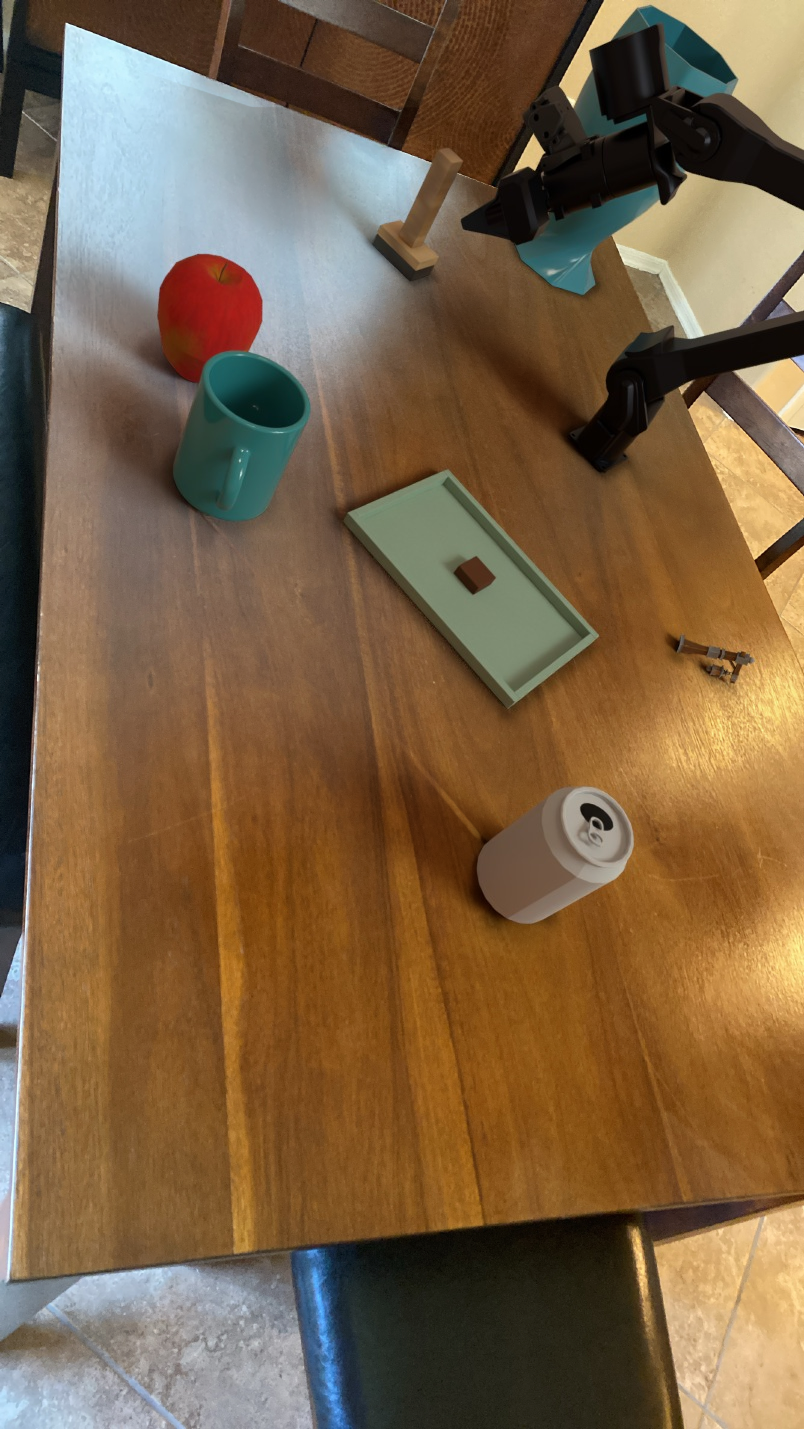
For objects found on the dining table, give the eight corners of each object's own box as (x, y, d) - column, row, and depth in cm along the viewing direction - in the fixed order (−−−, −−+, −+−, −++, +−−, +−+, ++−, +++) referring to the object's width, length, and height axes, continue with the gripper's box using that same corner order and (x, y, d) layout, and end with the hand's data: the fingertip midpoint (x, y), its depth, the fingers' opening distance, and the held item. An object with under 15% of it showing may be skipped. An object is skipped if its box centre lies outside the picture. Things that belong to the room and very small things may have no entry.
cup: (155, 529, 73) (187, 430, 64) (180, 434, 79) (211, 333, 71) (259, 563, 76) (302, 473, 67) (274, 469, 82) (315, 376, 74)
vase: (522, 281, 122) (660, 54, 100) (491, 207, 130) (613, -21, 107) (615, 312, 131) (763, 108, 108) (581, 239, 138) (712, 35, 115)
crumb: (470, 562, 87) (476, 555, 86) (490, 584, 87) (496, 577, 86) (453, 572, 85) (458, 565, 84) (473, 595, 85) (479, 588, 84)
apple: (229, 345, 88) (265, 238, 79) (248, 410, 85) (287, 306, 76) (136, 329, 84) (163, 213, 74) (152, 397, 80) (182, 284, 71)
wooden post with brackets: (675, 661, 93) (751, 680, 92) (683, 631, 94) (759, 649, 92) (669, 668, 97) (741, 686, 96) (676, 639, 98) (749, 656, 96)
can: (558, 865, 73) (649, 807, 64) (540, 943, 69) (636, 893, 60) (484, 823, 72) (566, 758, 63) (460, 900, 67) (545, 842, 58)
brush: (429, 274, 112) (481, 173, 102) (410, 281, 110) (462, 177, 99) (392, 238, 113) (440, 133, 102) (371, 243, 110) (419, 136, 100)
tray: (440, 480, 92) (447, 468, 91) (589, 645, 89) (599, 635, 88) (340, 524, 82) (347, 512, 81) (504, 711, 80) (514, 702, 78)
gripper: (621, 62, 91) (489, 117, 99) (563, 90, 79) (419, 150, 87) (642, 179, 97) (515, 222, 105) (590, 222, 85) (452, 266, 93)
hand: (478, 213), depth 98 cm, fingers open, 9 cm apart
